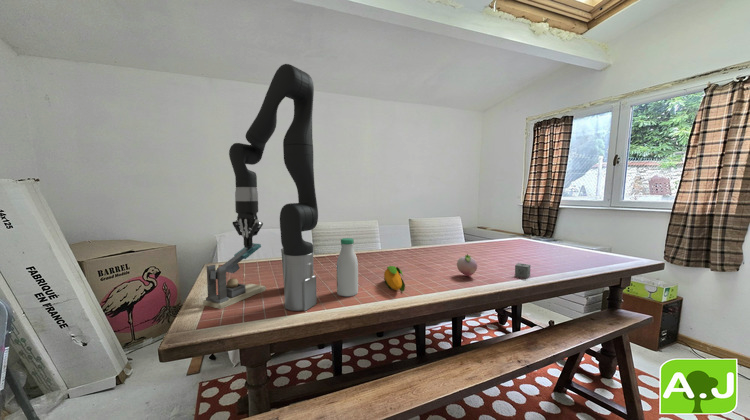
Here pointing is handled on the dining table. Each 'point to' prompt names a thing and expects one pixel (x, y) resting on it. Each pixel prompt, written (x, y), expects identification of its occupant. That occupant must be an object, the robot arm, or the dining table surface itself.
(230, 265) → the lever
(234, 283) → the nut
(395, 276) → the corn
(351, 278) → the milk bottle
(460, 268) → the decorative fruit
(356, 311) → the dining table surface
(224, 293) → the cracker base
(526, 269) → the grey cube
